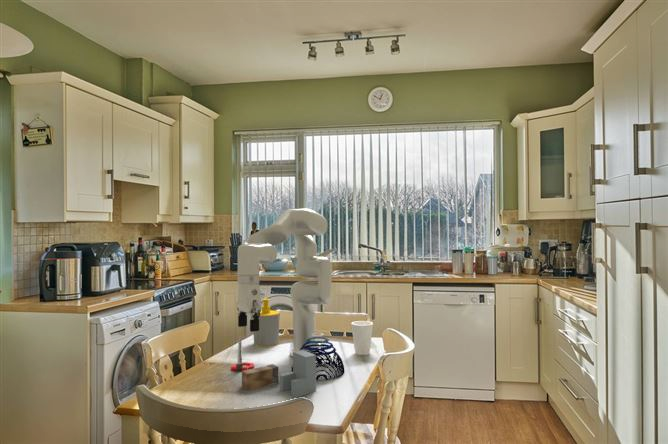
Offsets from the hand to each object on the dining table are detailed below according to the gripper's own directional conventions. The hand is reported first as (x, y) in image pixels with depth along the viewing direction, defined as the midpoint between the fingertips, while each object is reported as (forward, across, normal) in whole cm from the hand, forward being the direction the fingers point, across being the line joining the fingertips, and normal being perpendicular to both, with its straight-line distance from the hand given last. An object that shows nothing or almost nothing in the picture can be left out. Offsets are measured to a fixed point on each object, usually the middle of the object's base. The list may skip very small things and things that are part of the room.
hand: (248, 328), depth 157 cm
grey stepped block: (+20, -15, -11) cm, 27 cm away
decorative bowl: (+20, -2, -28) cm, 34 cm away
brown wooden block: (+20, -2, -4) cm, 20 cm away
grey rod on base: (+20, +20, -7) cm, 29 cm away
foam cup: (+19, +7, -57) cm, 61 cm away
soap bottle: (+19, +48, -31) cm, 60 cm away
